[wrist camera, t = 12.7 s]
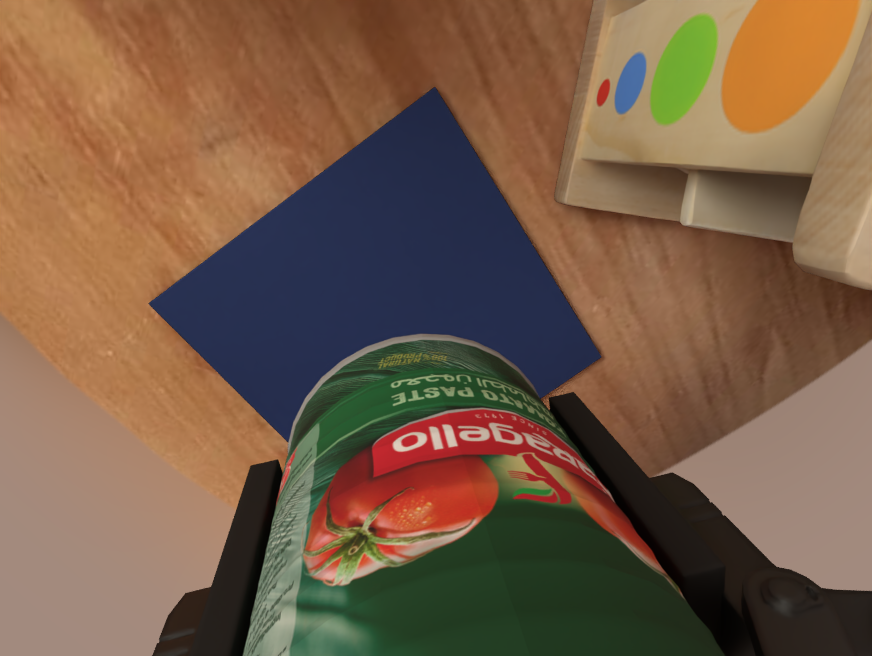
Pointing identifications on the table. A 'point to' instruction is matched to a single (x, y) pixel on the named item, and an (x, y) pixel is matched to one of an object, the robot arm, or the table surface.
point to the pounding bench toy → (731, 122)
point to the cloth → (377, 272)
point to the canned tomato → (452, 523)
